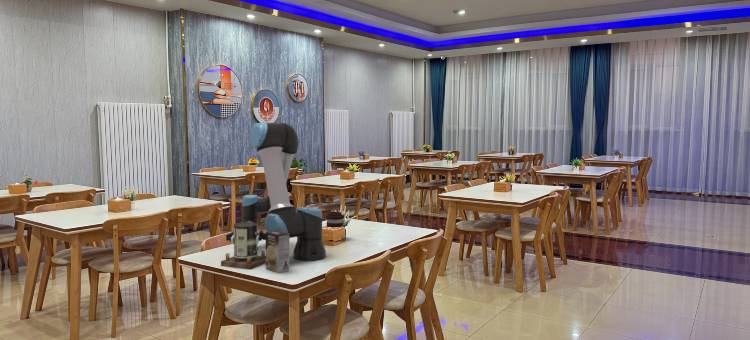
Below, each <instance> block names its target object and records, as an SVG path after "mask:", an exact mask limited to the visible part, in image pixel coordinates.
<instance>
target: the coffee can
mask: <svg viewBox="0 0 750 340" xmlns="http://www.w3.org/2000/svg"><path fill="white" fill-rule="evenodd" d="M232 226H233V231H234V243H233V257H235V258H244V259H245V258H247V256H251V258H253V257H256V256H257V255H258V244H256V237H257V232H258V230H257V223H251V222H244V223H242V222H237V223H234V224H233V225H232Z"/></svg>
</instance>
